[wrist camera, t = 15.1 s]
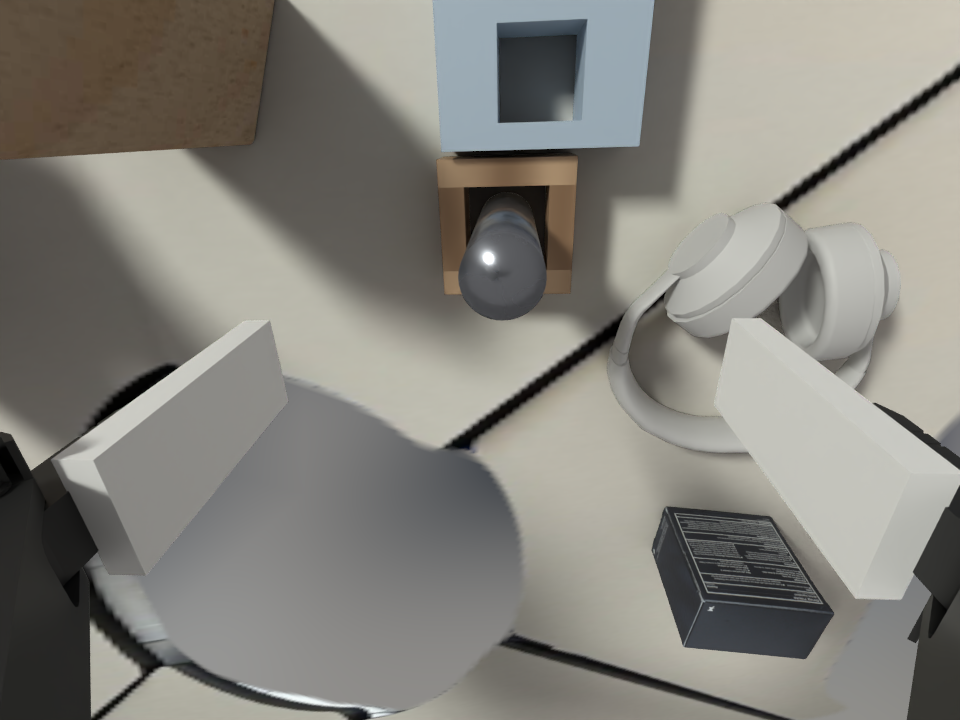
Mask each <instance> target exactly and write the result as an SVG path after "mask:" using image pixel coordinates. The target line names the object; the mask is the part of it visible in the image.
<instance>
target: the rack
mask: <svg viewBox="0 0 960 720" xmlns="http://www.w3.org/2000/svg"><path fill="white" fill-rule="evenodd" d="M436 164H437V180H438V196H439V212H440V228H441V245H442V261H443V277H444V293H445V294H462V293H461V291H460V287H459V282H458V273H459V267H460V264H461V261H462V258H463V256H464V253H465V251H466V248H467V246H468V243H469V241H470V238H471V229H470V201H469V187H497V186H540V185H546V198H545V233H544V257H543V258H544V262H545V267H546V272H547V281H546V287H545V291H544V293H543V294H570V292H571V274H572V255H573V237H574V219H575V200H576V182H577V164H578V156H577V155H574V154H572V153H560V154H523V155H487V156H450V157H442V158H440V159H437V160H436Z"/></svg>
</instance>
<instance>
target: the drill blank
mask: <svg viewBox="0 0 960 720" xmlns="http://www.w3.org/2000/svg"><path fill="white" fill-rule="evenodd" d="M546 281H547V272H546V267H545V262H544V258H543V254H542V250H541V246H540V242H539V237H538V233H537V229H536V225H535V221H534V216H533V212H532V209H531V207H530V205H529V203H528V202H527V201H526V200H525V199H524V198H523V197H522V196H520V195H518V194H516V193H512V192H502V193H498V194H496V195H494V196H492V197H491V198H490V199H489V200H488V201H487V202H486V203H485V204H484V206H483V208H482V210H481V213H480V215H479V218H478V220H477V223H476V226H475V228H474V231H473V233H472V236H471V238H470V241H469V243H468V246H467V248H466V251H465V253H464V256H463V258H462V261H461V264H460V267H459V273H458V282H459V287H460V291H461V293H462V296H463V298H464V299H465V301H466V302H467V304H468V305H469V306H470V307H471V308H472V309H473V310H474V311H476V312H477V313H479V314H480V315H482V316H484V317H487V318H490V319H494V320H511V319H515V318H518V317H520V316H523V315H525V314H526V313H528V312H529V311H530V310H532V309H533V308H534V307H535V306H536V305H537V303H538V302H539V301H540V299H541V297H542V295H543V293H544V291H545V287H546Z"/></svg>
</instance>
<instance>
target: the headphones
mask: <svg viewBox="0 0 960 720" xmlns="http://www.w3.org/2000/svg"><path fill="white" fill-rule="evenodd" d="M900 288H901V279H900V271H899V267H898V264H897V262H896V260H895V258H894V256H893V255H892V254H891V253H890V252H889V251H886V250H883V249H881V250H879V249H878V247H877V245H876V242H875V240H874V238H873V236H872V234H871V233H870V232H869V231H868V230H867V229H866V228H865V227H864V226H862V225H861V224H857V223H852V222H848V223H843V224H835V225H829V226H822V227H816V228H810V229H807V230H805V231H804V230H803V229H802V227H801V226H799V225H798V224H797V223H796V222H795V221H794V220H793V219H792V218H791V217H789V216H788V215H787V214H786V213H785V212H784V211H783V210H781V209H780V208H779V207H778V206H777V205H775V204H770V203H762V204H758V205H753V206H750V207H748V208H746V209H744V210H742V211H740V212H738V213H736V214H734V215H732V216H729V215H727V214H725V213H719V214H715V215H713V216H711V217H709V218H708V219H706V220H705V221H703V222H702V223H700V224H699V225H698V226H697V227H695V228H694V229H693V230H692V231H691V232H690V233H689V234H688V235H687V236H686V237H685V238H684V239H683V241H682V242H681V243H680V244H679V246H678V247H677V248H676V250H675V251H674V253H673V255H672V257H671V259H670V261H669V264H668V269H667V270H666V271H665V272H664V273H663V274H662V275H661V276H660V277H659V278H658V279H657V280H656V281H655V282H654V283H653V284H652V285H651V286H650V287H649V288H648V289H647V290H646V291H645V292H644V293H643V294H641V295H640V296H639V297H638V298H637V299H636V300H635V301H634V302H633V303H632V304H631V306H630V307H629V309H628V310H627V311H626V313H625V315H624V317H623V319H622V321H621V323H620V326H619V329H618V332H617V335H616V337H615V339H614V343H613V345H612V346H611V348H610V352H609V358H608V363H607V374H608V378H609V382H610V386H611V389H612V392H613V394H614V395H615V397H616V399H617V401H618V403H619V405H620V406H621V407H622V408H623V410H624V411H625V412H626V413H627V414H628V415H629V416H630V418H631V419H632V420H633V421H634V422H635V423H636V424H637V425H638V426H639V427H640V428H641V429H643V430H644V431H646V432H648V433H650V434H652V435H654V436H656V437H658V438H660V439H662V440H664V441H666V442H668V443H671V444H674V445H676V446H679V447H683V448H686V449H690V450H695V451H702V452H712V453H749V452H748V451H747V449H746V448H745V447H744V445H743V444H742V443H741V441H740V440H739V438H738V437H737V436H736V434H735V433H734V432H733V430H732V429H731V427H730V426H729V425H728V423H727V422H726V421H725V419H724V418H723V417H715V416H695V415H689V414H685V413H681V412H677V411H675V410H672V409H670V408H668V407H666V406H663V405H661V404H659V403H658V402H656V401H655V400H654V399H652V398H651V397H649V396H648V395H647V394H646V393H645V392H644V391H643V390H642V389H641V388H640V386H639V385H638V383H637V382H636V380H635V378H634V376H633V374H632V371H631V368H630V365H629V359H628V353H629V347H630V344H631V340H632V336H633V333H634V330H635V327H636V325H637V322H638V320H639V319H640V317H641V316H642V314H643V313H644V312H645V311H646V310H647V309H648V308H649V307H650V306H651V305H652V304H653V303H654V302H655V301H656V300H657V299H658V298H659V297H660V296H661V295H663V294H664V293H665V292H666V294H665V298H664V302H665V309H666V310H667V315H668V317H670V318H671V319H672V320H673V321H674V322H675V323H677V324H678V325H679V326H681V327H682V328H683V329H685V330H686V331H687V332H689V333H690V334H691V335H693V336H696V337H705V338H712V337H716V336H720V335H724V334H727V333H729V330H730V325H731V320H732V318H755V317H756V316H757V315H759V314H760V313H762V312H763V311H764V310H766V309H767V308H768V307H769V306H770V305H771V304H772V303H773V302H774V301H775V300H776V299H777V298H778V297H779V313H780V318H781V323H782V328H783V331H784V334H785V337H786V338H787V339H789V340H790V341H791V342H793V343H794V344H795V345H797V346H798V347H799V348H801V349H802V350H803V351H804V352H806V353H807V354H808V355H810V356H811V357H812V358H814V359H815V360H816V361H823V360H831V359H840V358H846V357H848V356H849V358H848V360H847V361H846V362H845V363H844V364H843V366H842V367H841V368H840V369H839V370H838V371H837V372H836V373H835V375H836V376H837V377H839V378H840V379H841V380H842V381H844V382H845V383H846V384H848V385H849V386H850V387H852V388H853V389H855V388H856V387H857V386H858V384H859V383H860V381H861V380H862V378H863V377H864V375H865V374H866V369H867V367H868V365H869V362H870V359H871V351H872V345H873V339H874V334H875V332H876V329H877V326H878V323H879V321H880V320H883V319H885V318H887V317H888V316H890V315H891V313H892V312H893V310H894V309H895V307H896V305H897V302H898V299H899V294H900Z"/></svg>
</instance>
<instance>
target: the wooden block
mask: <svg viewBox="0 0 960 720" xmlns="http://www.w3.org/2000/svg"><path fill="white" fill-rule="evenodd" d="M274 1H275V0H0V160H5V159H21V158H37V157H54V156H70V155H87V154H103V153H119V152H136V151H152V150H168V149H185V148H201V147H218V146H234V145H250V144H252V143H253V141H254V138H255V131H256V125H257V118H258V111H259V104H260V97H261V90H262V83H263V77H264V70H265V63H266V56H267V49H268V42H269V35H270V29H271V22H272V15H273V8H274Z"/></svg>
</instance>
